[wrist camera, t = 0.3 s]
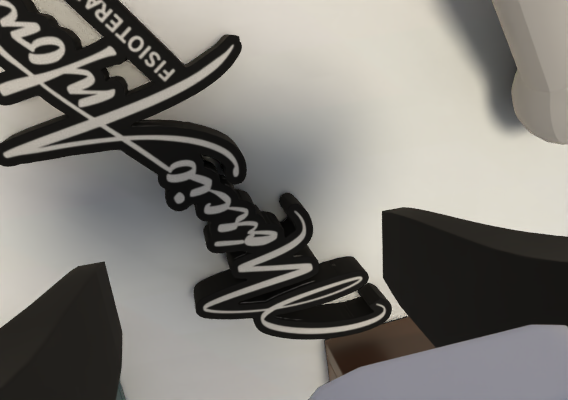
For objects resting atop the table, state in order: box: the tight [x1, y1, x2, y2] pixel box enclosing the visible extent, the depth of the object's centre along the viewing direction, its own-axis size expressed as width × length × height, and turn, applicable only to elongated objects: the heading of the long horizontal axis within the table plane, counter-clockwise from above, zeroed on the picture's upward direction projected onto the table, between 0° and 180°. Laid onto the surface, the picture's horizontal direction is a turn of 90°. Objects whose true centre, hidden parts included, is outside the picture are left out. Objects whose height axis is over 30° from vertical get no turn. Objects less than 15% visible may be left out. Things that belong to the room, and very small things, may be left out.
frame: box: [325, 317, 436, 381], centre depth 26 cm, size 8×7×3 cm
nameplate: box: [0, 0, 392, 339], centre depth 20 cm, size 27×2×10 cm
